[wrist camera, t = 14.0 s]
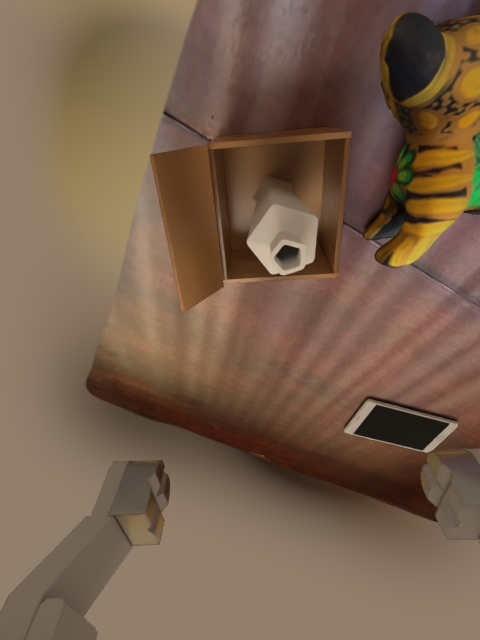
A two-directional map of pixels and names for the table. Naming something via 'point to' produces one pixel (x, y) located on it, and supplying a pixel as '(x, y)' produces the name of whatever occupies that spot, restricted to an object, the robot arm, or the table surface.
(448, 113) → the multicolored animal figure
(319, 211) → the carton
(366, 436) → the smartphone
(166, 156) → the carton flap
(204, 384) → the table surface
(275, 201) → the perfume bottle
